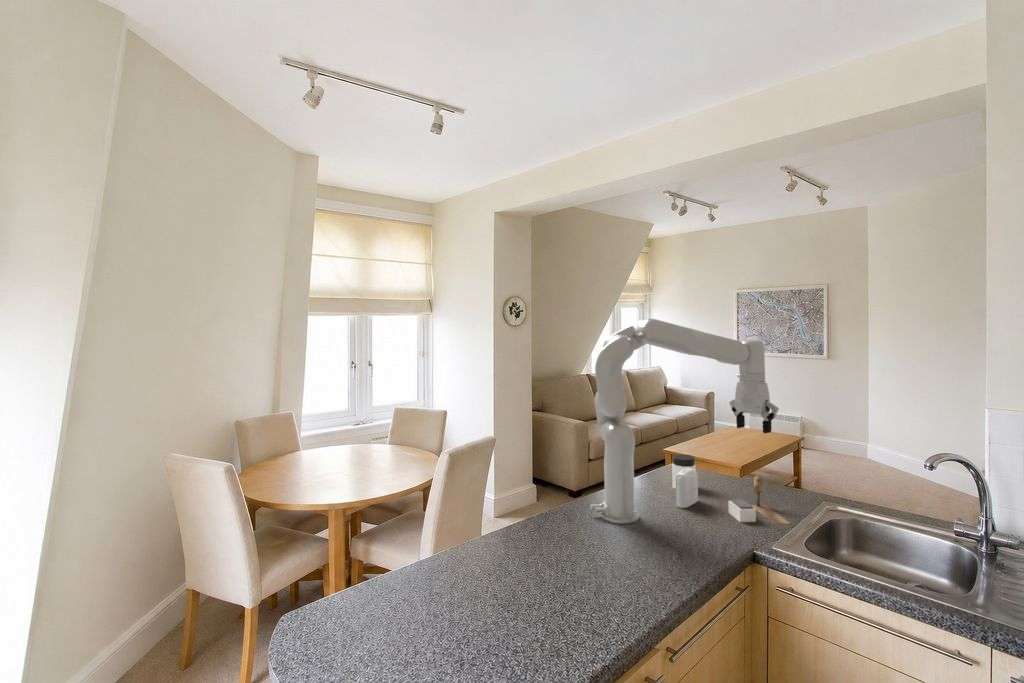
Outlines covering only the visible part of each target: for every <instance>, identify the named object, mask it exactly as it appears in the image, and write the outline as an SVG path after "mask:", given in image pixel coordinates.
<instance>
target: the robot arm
mask: <svg viewBox="0 0 1024 683" xmlns="http://www.w3.org/2000/svg"><path fill="white" fill-rule="evenodd" d="M645 345H650V346H654V347H656V348H657V347H658V348H661V349H666V350H669V351H672V352H675V353H680V354H685V355H689V356H694V357H695V356H697V357H702V358H708V359H711V360H716V361H717V362H719V363H723V364H728V365H733V366H738V365H739V366H738V369H739V370H738V371H739V372H738V373H736V374H737V375H736V376H737V378H739V380H738V381H737V382H736V385H735V386H736V387H735V392H734V393H735V397H734V399H733V400H731V401H729V405H730V407H731V411H732V412H733V414H734V416H735V417H736V421H735V422H736V428H737V429H741V428H742V429H743V428H745V427H746V421H745V415H744V414H745V413H746V414H751V415H760V416H761V417H762V419H763V420H762V433H763V434H769V433H772V421H773V420H774V418H776V416H777V414H778V411H779V410H780V408H779V407H778V406H776V405H775V404H774V403H772V402H771V398H770V390H769V386H768V383H767V382H766V363H765V361H766V360H765V358H766V357H765V344H764V342H763V341H762V340H759V339H751V340H750V339H749V340H748V339H747V340H742V341H741V340H736V339H732V338H729V337H724V336H720V335H717V334H716V335H715V334H713V333H708V332H704V331H701V330H697V329H694V328H690V327H687V326H682V325H678V324H674V323H671V322H668V321H664V320H660V319H656V318H642V319H640V320H638V321H636V322H634V323H632V324H629V326H626V327H623V329H620V330H618V331H617V332H614V333H613V334H611V335H609V336H608V337H607V338H606V339H605V340H604V342H603V346H602V349H601V350H600V352H599V354H598V356H597V358H596V362H595V366H594V367H595V368H594V371H595V372H594V374H595V380H596V381H595V382H596V389H597V391H596V392H595V395H594V408H595V415H596V420H597V426H598V431H599V436H600V437H601V439H602V440H603V441H604V454H603V459H604V460H603V470H604V471H603V472H604V473H603V474H604V478H603V479H604V500H602V502H600V503H598V504H596V503H591V504H590V510H591V511H595V513H599V514H600V518H601V519H602V520H604V521H606V522H609V523H613V524H618V525H619V524H623V525H625V524H632V523H636V522H637V521H638V520H639V519H640V513H639V511H638V510H635V469H634V468H635V467H634V466H635V465H634V464H635V463H634V457H635V447H636V437H635V434H634V433H635V432H634V431H633V429H632V427H631V426H630V425H629V424H628V423H627V422H626V419H625V412H626V410H627V406H628V404H627V403H628V400H627V397H626V393H625V386H624V381H623V366H624V364H625V363H626V362H627V361H628V360H629V358H631V357H632V355H633V354H634V351H636V350H638V349H640V348H642V347H643V346H645ZM770 411H771V412H770Z"/></svg>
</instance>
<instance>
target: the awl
mask: <svg viewBox="0 0 1024 683" xmlns="http://www.w3.org/2000/svg"><path fill="white" fill-rule="evenodd" d="M753 491H754V493H756V505H757V506H760V505H761V493H763V491H764V490H763V478H762V477H761V476H759V475H756V476H755V477H754V478H753Z"/></svg>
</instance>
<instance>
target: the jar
mask: <svg viewBox="0 0 1024 683" xmlns="http://www.w3.org/2000/svg"><path fill="white" fill-rule="evenodd" d="M671 459H672V464H671V467H672V468H671V471H672V473H671V476H672V489H675V490H676V476H677V475H678V473H679V472H681V471H682V470H684V469H687V468H691V469H694V470H696V457H695V456H693V455H690V454H682V453H681V454H674V455H672V458H671Z"/></svg>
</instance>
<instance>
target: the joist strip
mask: <svg viewBox="0 0 1024 683" xmlns="http://www.w3.org/2000/svg"><path fill="white" fill-rule="evenodd" d="M750 505H751V506H753V508H754V509H756V512H758V513H759V514H761V515H762V516H764V517H765V518H766V519H768V520H769V521H770V522H772V524H774V525H784V524H786V525H788V524H790V525H791V524H792V523H791V522H790V521H788V520H787V519H785V518H784V517H783V516H781V515H779V514H778V513H777V512H776V511H774V510H773V509H771V508H769V507H768V506H767V505H765V504H760V506H757V504H750Z"/></svg>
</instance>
